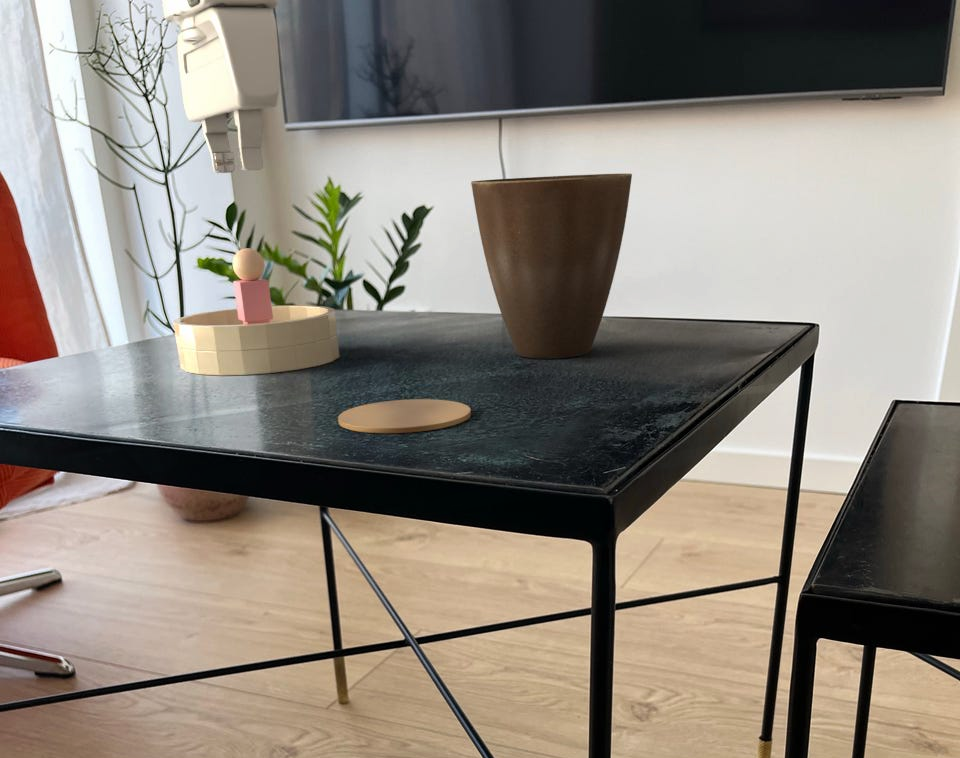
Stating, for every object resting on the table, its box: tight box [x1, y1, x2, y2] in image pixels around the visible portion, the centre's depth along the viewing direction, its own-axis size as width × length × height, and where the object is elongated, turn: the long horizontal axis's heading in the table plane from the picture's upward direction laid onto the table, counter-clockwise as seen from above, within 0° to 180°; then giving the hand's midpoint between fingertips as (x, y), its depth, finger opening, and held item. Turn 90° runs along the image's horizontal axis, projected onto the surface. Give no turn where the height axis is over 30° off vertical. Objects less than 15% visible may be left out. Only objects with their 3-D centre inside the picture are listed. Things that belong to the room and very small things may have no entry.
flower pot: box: [470, 173, 633, 360], centre depth 97 cm, size 15×15×16 cm
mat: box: [337, 398, 472, 434], centre depth 76 cm, size 10×10×1 cm
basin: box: [172, 304, 340, 376], centre depth 100 cm, size 15×15×5 cm
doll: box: [232, 247, 273, 325], centre depth 99 cm, size 3×3×10 cm
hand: (237, 171), depth 94 cm, fingers open, 8 cm apart
